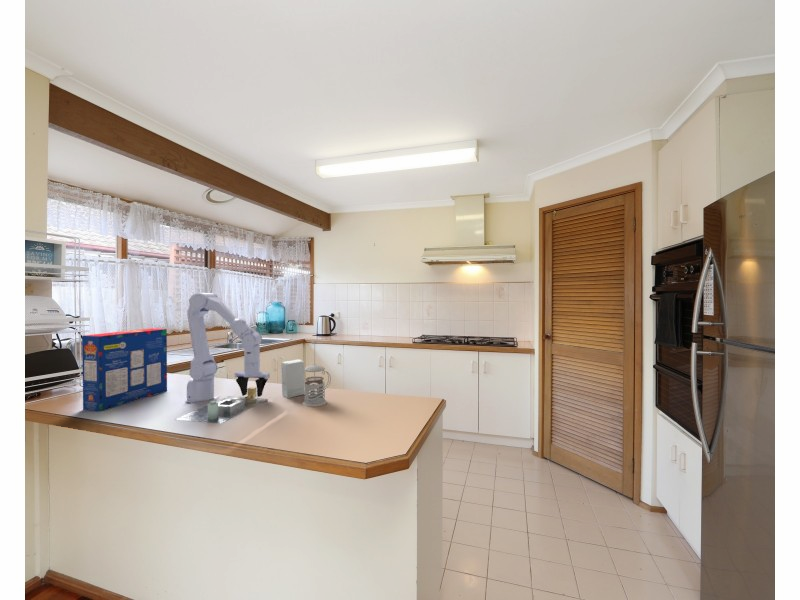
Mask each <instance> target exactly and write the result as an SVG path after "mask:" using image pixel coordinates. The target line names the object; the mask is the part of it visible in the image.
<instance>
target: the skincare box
mask: <svg viewBox="0 0 800 600" xmlns="http://www.w3.org/2000/svg"><path fill="white" fill-rule="evenodd" d="M304 369H305V361H303V359H299V358H298V359H292V360H286V361H281V395H282V396H283V397H285V398H286V399H289V398H294V397H298V396H303V395H305V370H304Z"/></svg>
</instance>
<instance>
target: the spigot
mask: <svg viewBox="0 0 800 600" xmlns="http://www.w3.org/2000/svg"><path fill="white" fill-rule="evenodd" d="M216 401H217V400H210V401H209V403H207V405H208V420H215V419H218V403H217V402H216Z"/></svg>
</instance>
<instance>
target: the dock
mask: <svg viewBox="0 0 800 600" xmlns="http://www.w3.org/2000/svg"><path fill="white" fill-rule="evenodd" d="M244 397H245V396H243V397H242V396H229V395H228V396H226V397H223V398H221V399H219V400H218V399H217V400H215V401H216V402H217V403H218V419H215V420H208V404H207V405H205V406H202V407H200V408H197V409H195V410H193V411H191V412H188V413H186V414H184V415H182V416H179V417H176V418H175V419H174V421H175V420H176V421H186V422H187V421H188V422H199V423H212V424H223V423H225V422H227V421H229V420H230V419H233V418H235V417H237V416H238V415H240V414H242V413H244V412H246V411H248V410H249V409H252V408H253V407H255V406H257V405H259V404H261V403H262V402H263V403H264V402H265V403H267V402H268V398H260V397H255V398H253V399H250V400H248V401H246V402H245V398H244Z"/></svg>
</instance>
